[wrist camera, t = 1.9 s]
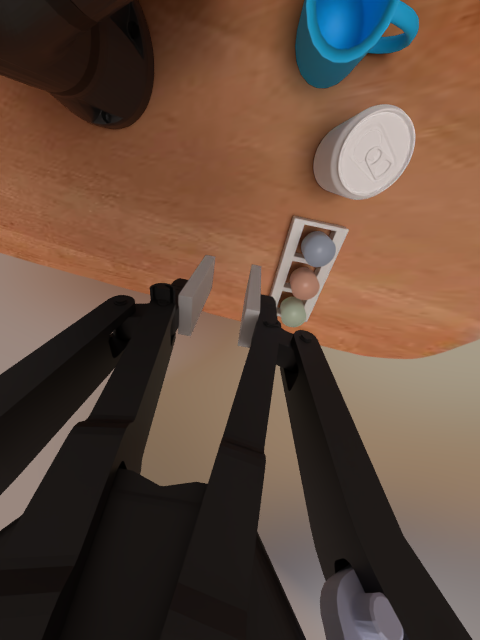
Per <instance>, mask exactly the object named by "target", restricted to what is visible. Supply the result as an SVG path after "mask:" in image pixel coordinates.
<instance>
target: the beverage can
mask: <svg viewBox="0 0 480 640" xmlns="http://www.w3.org/2000/svg"><path fill="white" fill-rule="evenodd" d="M414 146H415V129H414V125H413V123H412V121H411V119H410V118H409V116H408V115H407V114H406V113H405V112H404V111H403V110H402V109H400V108H398V107H396V106H393V105H388V104H382V105H376V106H373V107H370V108H368V109H366V110H364V111H362V112H360V113H359V114H357V115H355V116H354V117H352V118H350V119H348V120H347V121H345V122H343V123H342V124H340V125H338V126H337V127H335V128H334V129H332V130H331V131H330V132H329V133H328V134H327V135H326V136H325V137H324V138H323V140H322V141H321V143H320V144H319V146H318V148H317V151H316V153H315V157H314V163H313V170H314V176H315V179H316V181H317V183H318V184H319V185H320V186H321V187H322V188H323V189H324V190H326V191H329V192H332V193H335V194H338V195H340V196H343V197H346V198H349V199H354V200H361V199H367V198H370V197H373V196H375V195H377V194H379V193H381V192H382V191H384V190H385V189H387V188H388V187H389V186H390V185H392V184H393V183H394V182H395V181H396V180H397V179H398V178H399V177H400V175H401V174H402V173H403V172H404V170H405V168H406V167H407V165H408V163H409V161H410V159H411V156H412V154H413V150H414Z"/></svg>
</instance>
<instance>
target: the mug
mask: <svg viewBox="0 0 480 640" xmlns="http://www.w3.org/2000/svg"><path fill="white" fill-rule="evenodd" d="M390 23H392V24H394V25H396V26H397V27H399V28H400V29H402V30H403V31H404V33H403V34H399V35H396V36H389V37H381V36H382V34H383V33H384V32H385V30H386V29H387V28H388V26H389V24H390ZM418 29H419V18H418V16H417V14H416V13H415V11H414V10H413V9H412V8H411V7H409V6H408V5H407V4H405V3H404V2H401V1H400V0H304V4H303V8H302V12H301V16H300V20H299V25H298V29H297V36H296V44H295V50H296V61H297V65H298V67H299V70H300V73H301V75H302V76H303V78H304V79H305V80H306V81H307V83H308V84H310V85H312V86H314V87H316V88H329V87H331V86H333V85H336V84H338V83H339V82H340V81H341V80H343V79H344V78H345V77H346V76H347V75H348V74H349V73H350V72H351V71H352V70H353V69H354V68H355V66H356V65H357V64H358V63H359V62H360V61H361V60H362V59H363V57H364V56H365V55H366V54H367V53H374V54H384V53H392V52H396V51H400V50H402V49H403V48H405V47H407V46H409V45H410V43H411V42H412V41H413V39H414V38H415V36H416V34H417V32H418Z"/></svg>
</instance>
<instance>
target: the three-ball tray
mask: <svg viewBox="0 0 480 640" xmlns="http://www.w3.org/2000/svg"><path fill="white" fill-rule="evenodd" d="M304 224H305V225H310V226H315V227H319V228H324V229H329V230H331V233H330V235H329V238H330V239H331V240H332V241H333V242H334V244H335V246H336V253H335V256H334V258H333V259H332V260H331V261H330V262H329V263H328V264H327V265H325V266H322V267H316V269H315V272H314V273H315V275H316V277H317V279H318V282H319V284H320V288H319V291H318V293H317V294H316V295H315V296H314V297H313V298H311V299H308V300H303V301H302V302H303V305H304V308H305V312H306V320H305V322H307V320H308V318H309V316H310V314H311V312H312V309H313V307H314V305H315V303H316V301H317V299H318V296H319V294H320V292H321V290H322V288H323V285H324V283H325V281H326V279H327V277H328V274H329V272H330V270H331V268H332V266H333V263H334V261H335V259H336V257H337V255H338V253H339V250H340V248H341V246H342V244H343V242H344V239H345V237H346V235H347V233H348V231H349V229H347V228H346V227H344V226H340V225H336V224H331V223H326V222H322V221H317V220H313V219H308V218H303V217H299V216H294V215H293V218H292V221H291V225H290V228H289V231H288V235H287V238H286V241H285V245H284V248H283V251H282V255H281V258H280V261H279V265H278V268H277V272H276V275H275V278H274V282H273V285H272V288H271V292H270V295H269V296H271V297H273V298H274V299H275V301H276V310H277V316H280V317H281V311H280V308H278V307H277V305H278V302H279V299H280V296H281V293H282V291H286V292H291V293H292V289H291V285H290V283H287V282H285V281H286V278H287V275H288V272H289V269H290V266H291V263H292V261H296V262H301V263H306V264H308V263H307V262H306V260H305V258H304V255H303V254H300V253H295V251H296V248H297V245H298V242H299V239H300V236H301V233H302V230H303V227H304Z"/></svg>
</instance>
